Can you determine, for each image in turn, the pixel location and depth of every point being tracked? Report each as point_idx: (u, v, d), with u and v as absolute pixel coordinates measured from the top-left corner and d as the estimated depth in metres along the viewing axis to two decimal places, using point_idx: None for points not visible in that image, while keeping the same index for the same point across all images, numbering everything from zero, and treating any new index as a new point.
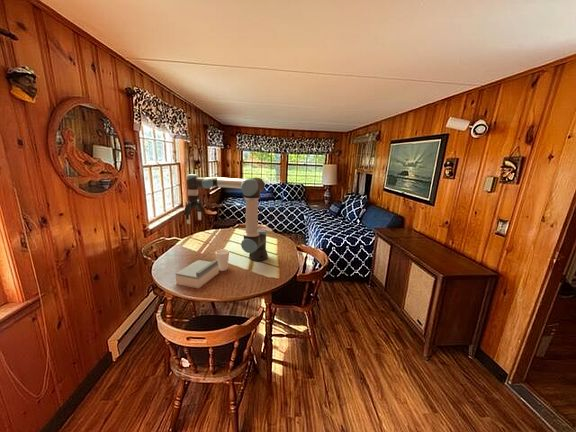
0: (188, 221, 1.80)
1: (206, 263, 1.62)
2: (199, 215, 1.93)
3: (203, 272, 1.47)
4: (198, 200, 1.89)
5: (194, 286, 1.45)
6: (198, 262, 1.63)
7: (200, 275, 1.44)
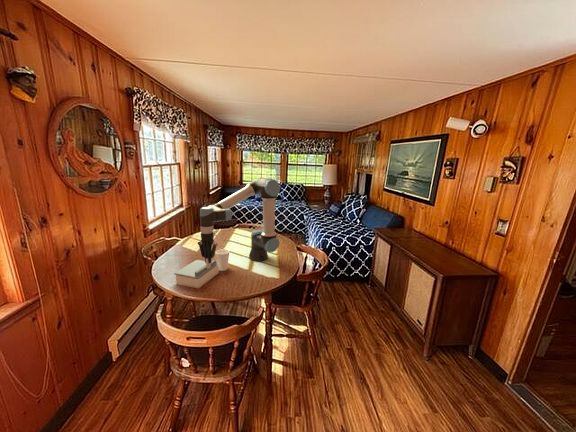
0: None
1: (205, 263, 1.62)
2: None
3: (202, 272, 1.47)
4: (214, 244, 1.47)
5: (194, 286, 1.45)
6: (197, 262, 1.63)
7: (198, 275, 1.45)
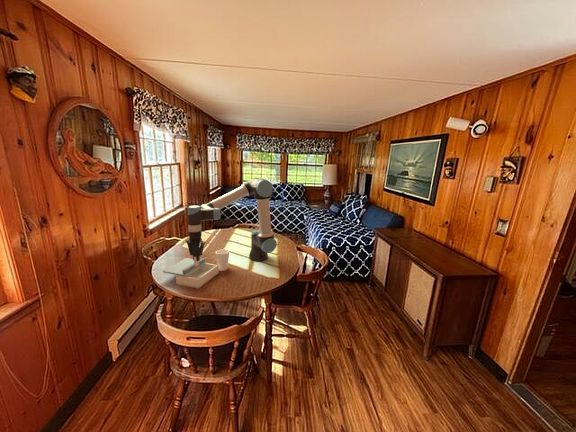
0: None
1: None
2: None
3: (190, 270, 1.50)
4: (202, 242, 1.49)
5: (194, 286, 1.45)
6: (186, 260, 1.66)
7: (186, 272, 1.47)
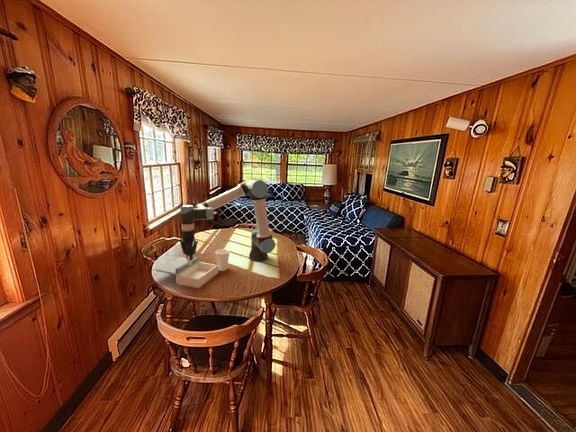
0: None
1: None
2: None
3: (183, 268, 1.51)
4: (195, 241, 1.51)
5: (194, 286, 1.45)
6: (180, 259, 1.67)
7: (179, 271, 1.48)
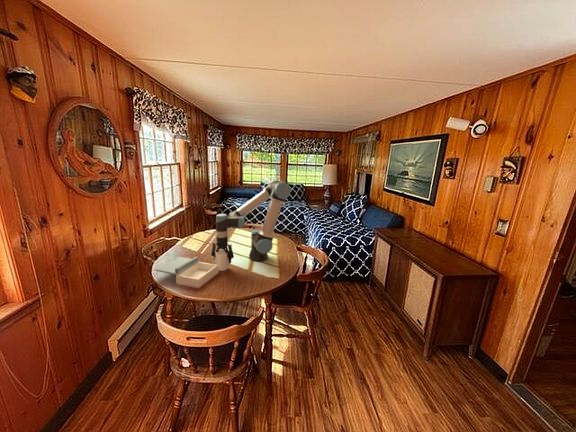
0: None
1: (187, 260, 1.66)
2: None
3: (182, 268, 1.51)
4: (229, 245, 1.66)
5: (194, 286, 1.45)
6: (179, 259, 1.67)
7: (179, 271, 1.48)
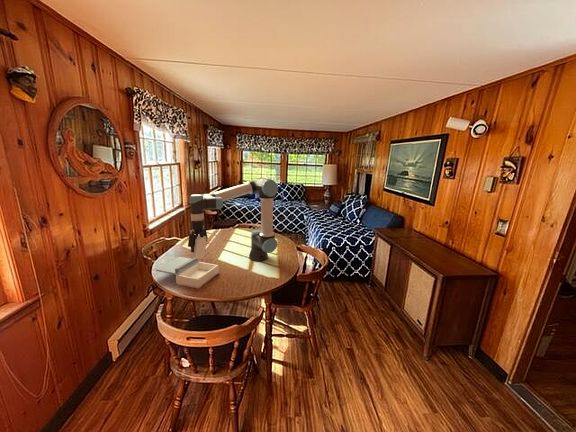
0: (193, 254, 1.47)
1: (187, 260, 1.66)
2: None
3: (182, 268, 1.51)
4: (203, 226, 1.54)
5: (194, 286, 1.45)
6: (179, 259, 1.67)
7: (179, 271, 1.48)
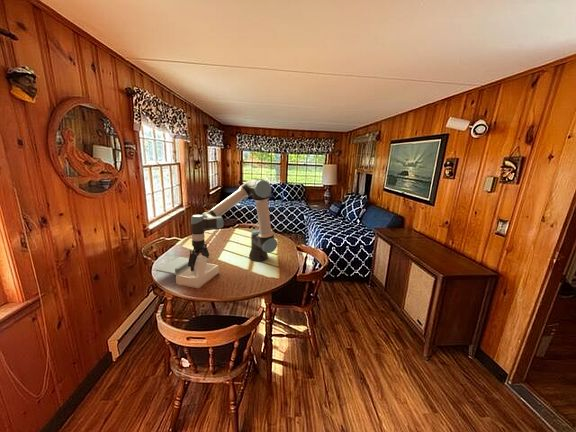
0: (193, 273, 1.48)
1: (187, 260, 1.66)
2: None
3: (182, 268, 1.51)
4: (204, 244, 1.57)
5: (194, 286, 1.45)
6: (179, 259, 1.67)
7: (179, 271, 1.48)
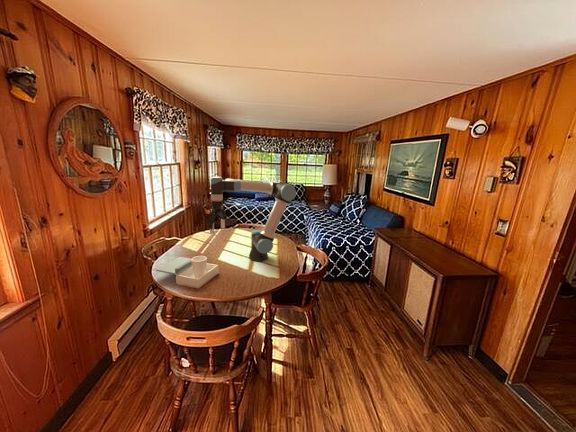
0: (212, 231, 1.57)
1: (187, 260, 1.66)
2: (222, 223, 1.69)
3: (182, 268, 1.51)
4: (222, 206, 1.66)
5: (194, 286, 1.45)
6: (179, 259, 1.67)
7: (179, 271, 1.48)
